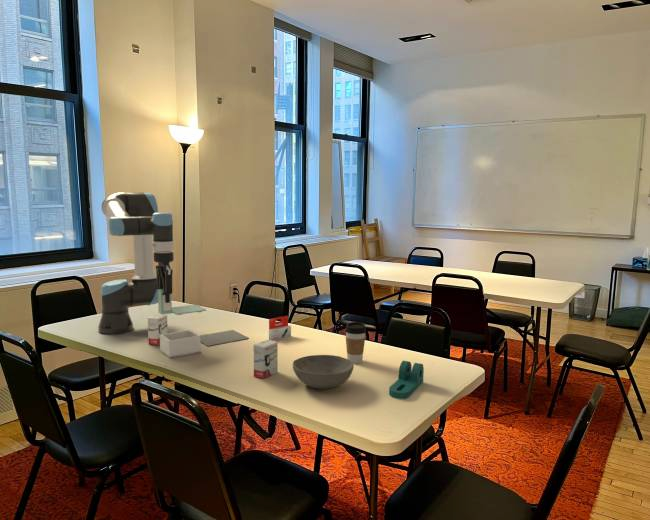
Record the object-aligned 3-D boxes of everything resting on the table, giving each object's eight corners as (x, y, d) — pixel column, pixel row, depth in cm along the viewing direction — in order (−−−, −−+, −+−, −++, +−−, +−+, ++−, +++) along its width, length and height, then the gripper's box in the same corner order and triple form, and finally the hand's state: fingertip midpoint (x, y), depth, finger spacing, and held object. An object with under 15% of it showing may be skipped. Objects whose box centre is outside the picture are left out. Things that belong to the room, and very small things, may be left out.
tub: (160, 350, 205) (159, 334, 204) (190, 345, 213) (190, 329, 212) (169, 358, 196) (169, 341, 195) (200, 352, 204) (200, 335, 203)
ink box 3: (291, 336, 228) (291, 316, 227) (271, 341, 221) (271, 320, 219) (288, 335, 230) (288, 315, 229) (268, 340, 223) (268, 319, 221)
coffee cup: (367, 359, 199) (368, 323, 197) (362, 366, 191) (363, 328, 189) (347, 356, 202) (348, 320, 199) (341, 363, 194) (342, 326, 192)
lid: (156, 312, 203) (155, 287, 202) (196, 307, 213) (196, 283, 212) (164, 317, 195) (163, 292, 193) (206, 312, 205) (205, 288, 203)
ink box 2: (263, 379, 176) (263, 347, 174) (252, 376, 179) (252, 344, 177) (278, 372, 183) (278, 341, 182) (267, 369, 186) (267, 339, 184)
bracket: (405, 379, 179) (405, 358, 178) (423, 382, 176) (424, 361, 175) (385, 396, 163) (386, 373, 162) (405, 401, 160) (406, 377, 159)
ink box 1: (158, 345, 212) (157, 318, 211) (148, 344, 213) (147, 317, 211) (168, 339, 221) (167, 313, 219) (158, 338, 222) (157, 313, 220)
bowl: (281, 391, 166) (282, 368, 165) (305, 370, 185) (305, 350, 184) (342, 401, 158) (342, 377, 157) (360, 379, 178) (360, 357, 177)
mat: (193, 337, 224) (192, 336, 224) (233, 330, 236) (233, 329, 236) (207, 346, 212) (207, 345, 212) (249, 338, 224) (249, 337, 224)
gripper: (147, 249, 201) (149, 306, 204) (160, 254, 187) (162, 314, 191) (165, 248, 205) (167, 303, 209) (180, 253, 192) (181, 312, 195)
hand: (165, 309), depth 200 cm, fingers closed on lid, 4 cm apart
